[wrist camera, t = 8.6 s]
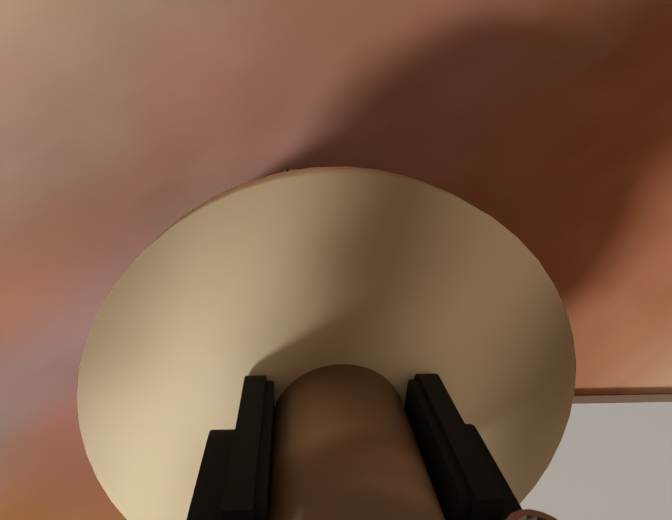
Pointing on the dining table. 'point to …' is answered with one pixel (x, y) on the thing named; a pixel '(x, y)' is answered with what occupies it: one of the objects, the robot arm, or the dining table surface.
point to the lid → (324, 345)
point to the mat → (610, 461)
